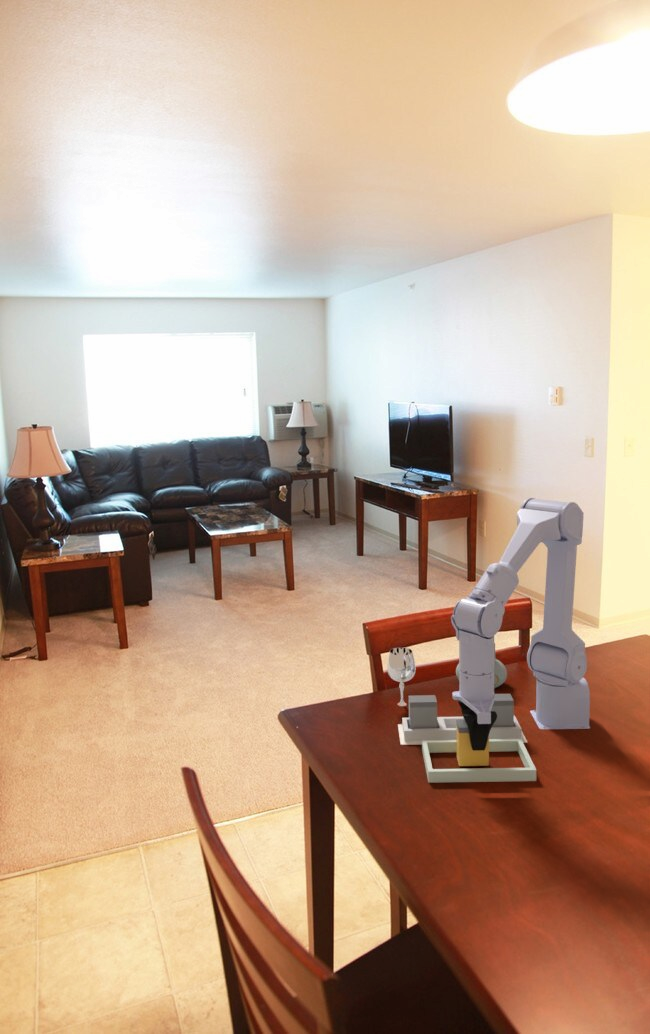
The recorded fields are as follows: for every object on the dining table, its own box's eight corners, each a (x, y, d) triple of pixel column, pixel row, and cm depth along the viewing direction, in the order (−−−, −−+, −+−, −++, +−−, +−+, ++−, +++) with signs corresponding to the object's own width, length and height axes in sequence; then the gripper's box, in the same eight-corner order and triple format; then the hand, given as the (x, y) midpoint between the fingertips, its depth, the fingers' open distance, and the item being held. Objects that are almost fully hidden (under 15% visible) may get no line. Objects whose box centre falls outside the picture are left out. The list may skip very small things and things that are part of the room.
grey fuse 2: (509, 728, 135) (510, 693, 133) (513, 736, 132) (513, 700, 130) (483, 728, 135) (483, 694, 134) (486, 736, 132) (486, 701, 131)
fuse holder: (517, 725, 137) (517, 712, 137) (527, 745, 129) (527, 732, 129) (397, 727, 138) (397, 714, 138) (400, 747, 130) (400, 734, 130)
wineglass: (415, 700, 149) (415, 646, 147) (416, 713, 144) (415, 656, 142) (388, 700, 150) (387, 646, 148) (388, 712, 144) (386, 656, 142)
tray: (520, 751, 127) (521, 738, 127) (536, 784, 117) (536, 770, 116) (422, 753, 128) (421, 740, 127) (428, 785, 117) (428, 771, 117)
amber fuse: (485, 756, 123) (485, 718, 122) (488, 765, 120) (488, 727, 119) (456, 757, 124) (456, 719, 122) (459, 766, 121) (458, 727, 119)
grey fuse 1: (435, 729, 135) (435, 695, 134) (437, 737, 132) (437, 702, 131) (409, 730, 135) (408, 695, 134) (410, 737, 132) (409, 702, 131)
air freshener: (456, 692, 153) (456, 648, 151) (455, 677, 161) (454, 635, 159) (508, 693, 151) (509, 649, 149) (504, 678, 159) (504, 635, 157)
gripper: (446, 653, 126) (447, 724, 129) (459, 687, 112) (459, 766, 115) (486, 652, 126) (486, 724, 128) (504, 686, 112) (503, 766, 114)
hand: (476, 744), depth 121 cm, fingers closed on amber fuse, 3 cm apart
